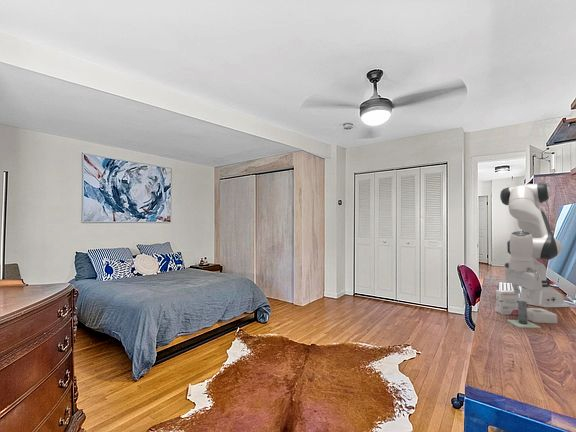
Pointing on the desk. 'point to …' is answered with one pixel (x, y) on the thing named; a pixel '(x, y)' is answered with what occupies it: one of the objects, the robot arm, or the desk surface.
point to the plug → (522, 312)
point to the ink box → (506, 302)
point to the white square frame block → (541, 315)
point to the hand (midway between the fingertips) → (523, 296)
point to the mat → (528, 325)
